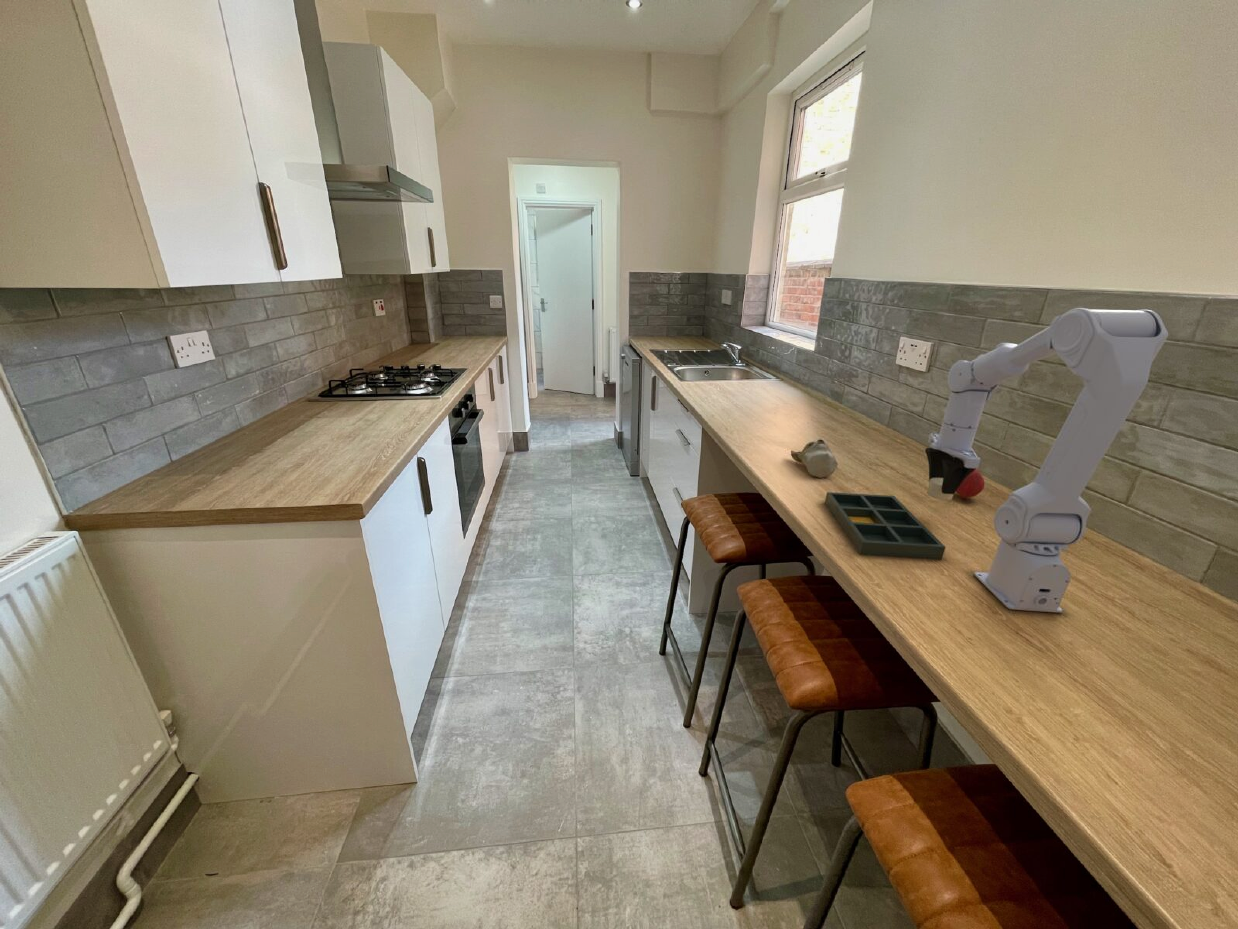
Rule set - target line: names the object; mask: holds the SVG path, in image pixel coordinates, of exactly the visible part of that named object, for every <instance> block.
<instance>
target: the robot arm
mask: <svg viewBox="0 0 1238 929" xmlns="http://www.w3.org/2000/svg"><path fill="white" fill-rule="evenodd" d="M1169 335H1170V334H1169V332H1168V330H1167V328H1166V325H1165V323H1164V322H1163V320H1162V318H1161V316H1160V315H1159V313H1157V312H1156V311H1153V310H1151V309H1142V308H1141V309H1136V310H1132V309H1131V310H1129V309H1125V310H1124V309H1090V308H1084V307H1075V308H1072V309H1069V310H1068V311H1066V312H1064V314H1060V315H1057V316H1055V317H1054V318H1053V319H1052V321H1051V323H1050V325H1049V326H1048V327H1046V328H1044V329H1042V330H1041V331H1039V332H1037V333H1036V334H1034V335H1031V336H1030V337H1028V338H1027V339H1025V340H1023V341H1022V342H1019V344H1017V343H1011V342H1000V343H998V344H996V346H995V348H994V349H992V350H990V351H988V352H986V353H984V354H983V353H981V354H980V355H978V356H977V357H976V358H975V359H973V360H970V361H969V360H965V359H959V360H957V361H956V362H955V363H953V365H952V366H951V367H950V368H949V371H948V374H947V386H948V388H949V390H950V394H949V398H948V401H947V404H946V408H945V412H944V416H943V418H942V423H941V427H940V430H939V433H930V434H929V436H928V440H927V443H928V444H930V445H929V447H926V448H925V450H924V452H925V454H926V458H927V462H928V481H929V482H930V479H931V478H943V483H942V493H943V494H953V495H955V493H957V492H956V491H957V489H958V488H959V486H960V485H961V483H962V482H963V481H964V479H965V478H966V477H967V476H968V475H969V474H970V473H972V472H973V471H974V470H977V469H979V467H980V464H981V460H982V459H981V457H979V456H978V455H977V454H976V452H975V450H974V448H972V447H973V444H974V441H975V437H976V434H977V431H978V428H979V424H980V421H981V418H982V415H983V411H984V408H985V404H987V403H989V401H991V397H992V395H993V393H994V392H995V391H997V389H998V388H999V386H1000V384H1001V383H1003V382H1007V381H1009V380H1011V379H1014V378H1016V377H1019V376H1021V375H1023V374H1024V373H1026V371H1027V370H1028V369H1029V367H1030V364H1032V363H1035V362H1037V361H1041V360H1043V359H1046V358H1048V357H1052V356H1054V355H1057V356H1058V357H1059V359H1061V361H1062V362H1063V363H1064V364H1065V365H1066V367H1067V368H1068V369H1069V370H1070V372H1071V373H1072V375H1074V376H1076V377H1078V378H1080V380H1081V381H1082V384H1083V387H1082V390H1081V391H1080V392H1079V395H1078V397H1077V399H1076V401H1075V403H1074V404H1073V407H1072V408H1071V409H1070V412H1069V413H1068V416H1067V417H1066V419H1065V421H1064V423H1063V425H1062V427H1061V429H1060V431H1059V433H1058V434H1057V437H1056V438H1055V440H1054V442H1053V444H1052V446H1051V448H1050V450H1049V451H1048V454H1047V455H1046V457H1045V459H1044V461H1043V463H1042V464H1041V466H1040V468H1039V470H1038V472H1037V474H1036V476H1035V478H1034V479H1033V481H1032V482H1031V483H1029V484H1026V485H1024V486H1022V487H1020V488H1018V489H1016V490H1013V491H1012V492H1011V493H1010V494H1009V497H1008V498H1007V500H1006V501H1005V502H1003V503H1001V504H1000V505H999V506H998V508H997V509H996V511H995V513H994V517H993V518H994V519H993V525H994V529H995V531H996V533H997V537H999V538H1000V540H999V543H998V546H997V549H996V552H995V554H994V556H993V559H992V563H991V565H990V569H989V571H988V572H983V571H975V572H973V575H974V576H975V577H976V578H977V579H978V580H979V581H980V582H981V584H983V585H984V586H985V587H986V589H987V590H989V591H990V592H991V593H992V594H993V595H994V597H996V598H997V599H998V600H999V601H1000V602H1001V604H1003V605H1004V606H1005V607H1006V608H1007V609H1009V610H1017V611H1030V612H1031V611H1033V612H1046V613H1059V614H1060V613H1062V612H1063V608H1061V606H1060V604H1061V602H1062V600H1063V598H1064V595H1065V593H1066V590H1067V589H1068V587H1069V585H1070V584H1069V583H1070V581H1071V576H1072V575H1071V572H1070V570H1069V569H1068V567H1067V566H1066V565H1065V564H1064V563H1063V561H1062V558H1061V552H1066V551H1067V549H1068V546H1073V545H1076V544H1077V543H1079V542H1080V541H1081V540H1082V539H1083V537H1084V535H1085V533H1086V529H1087V520H1088V518H1089V516H1090V514H1091V513H1092V508H1091V506H1090V505H1089V504H1088V502H1087V501H1085V500H1084V498H1083V497H1082V494H1083V492H1084V490H1085V488H1086V487H1087V485H1088V483H1089V482H1090V480H1091V478H1092V476H1093V475H1094V473H1095V471H1096V470H1097V468H1098V467H1099V465H1100V464H1101V461H1102V459H1103V458H1104V457H1105V455H1106V453H1107V452H1108V450H1109V448H1110V447H1111V445H1112V443H1113V442H1114V440H1115V438H1116V437H1117V435H1118V433H1119V432H1120V430H1121V428H1122V427H1123V425H1124V423H1125V421H1126V420H1127V418H1128V417H1129V415H1130V413H1131V411H1132V410H1133V408H1134V407H1135V405H1136V403H1137V402H1138V400H1139V398H1140V397H1141V395H1142V393H1143V392H1144V390H1145V388H1146V386H1147V384H1148V382H1149V378H1150V373H1151V368H1152V364H1153V363H1154V361H1155V359H1156V357H1157V355H1158V354H1159V353H1160V350H1162V347H1163V345H1164V343H1165V342H1166V340H1167V338H1168V337H1169ZM929 482H928V483H929Z"/></svg>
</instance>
